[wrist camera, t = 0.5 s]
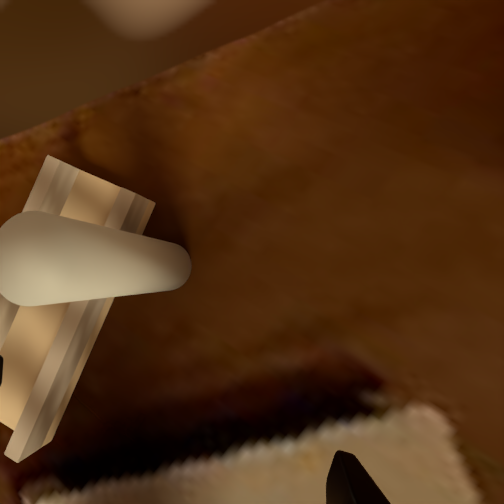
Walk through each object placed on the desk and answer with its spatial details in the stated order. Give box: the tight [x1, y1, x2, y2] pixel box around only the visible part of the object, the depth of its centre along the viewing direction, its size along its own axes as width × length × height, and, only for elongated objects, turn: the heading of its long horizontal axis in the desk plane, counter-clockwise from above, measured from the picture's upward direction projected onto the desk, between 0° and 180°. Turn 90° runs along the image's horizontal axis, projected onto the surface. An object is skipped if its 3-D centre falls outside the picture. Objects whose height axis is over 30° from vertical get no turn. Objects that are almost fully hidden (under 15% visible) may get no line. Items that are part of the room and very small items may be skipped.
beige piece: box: [0, 211, 191, 306], centre depth 18 cm, size 4×4×12 cm
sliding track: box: [0, 155, 156, 463], centre depth 24 cm, size 20×8×3 cm, turn 156°
